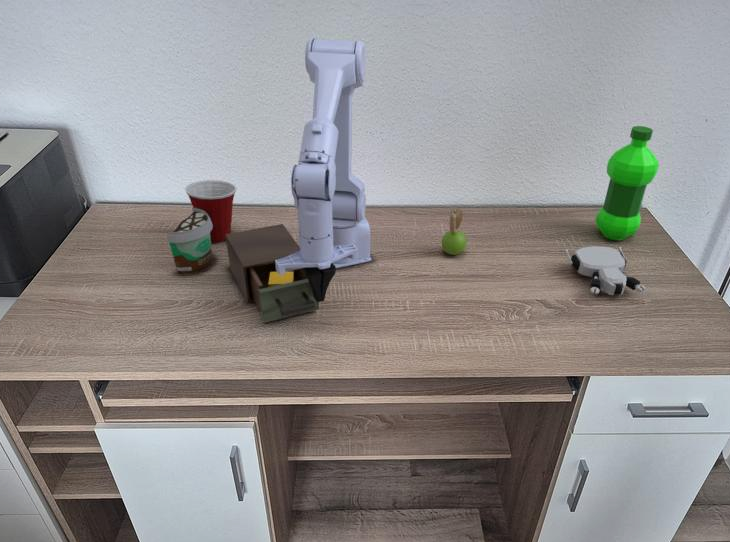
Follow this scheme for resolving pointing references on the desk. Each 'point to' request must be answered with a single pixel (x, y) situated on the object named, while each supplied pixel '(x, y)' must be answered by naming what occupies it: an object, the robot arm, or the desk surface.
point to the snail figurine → (454, 235)
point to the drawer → (280, 293)
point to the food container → (192, 243)
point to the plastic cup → (214, 204)
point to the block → (280, 278)
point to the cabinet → (257, 251)
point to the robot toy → (604, 269)
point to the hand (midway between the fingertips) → (319, 298)
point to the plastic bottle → (627, 186)
